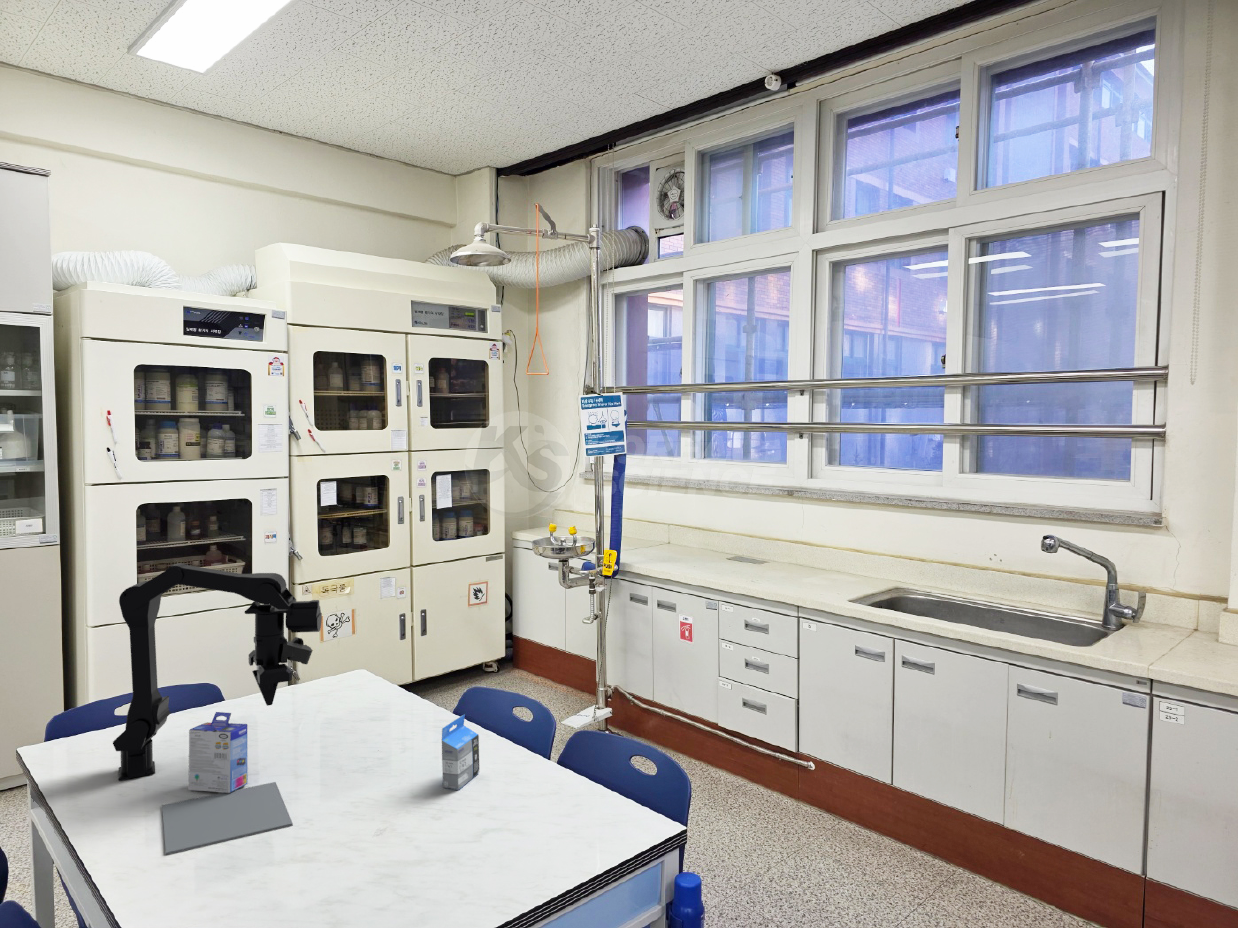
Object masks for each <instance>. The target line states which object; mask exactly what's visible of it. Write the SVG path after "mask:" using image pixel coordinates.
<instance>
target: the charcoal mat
mask: <svg viewBox="0 0 1238 928" xmlns="http://www.w3.org/2000/svg"><path fill="white" fill-rule="evenodd" d="M287 808H288V807H286V804H285V801H284V798H283V797H282V795H281V791H280V789H279V787H278V785H277V782H276V781H273V782H267V783H263V784H258V785H254V786H250V787H249V786H248V787H244V788H238V789H236V790H234V791H233V792H231V793H223V792H218V793H214V794H210V795H205V796H204V795H203V796H201V797H200V796H199V797H195V798H191V799H184V800H180V801H176V802H171V803H166V804H162V805H161V811H162V821H163V822H162V823H163V825H162V826H163V834H164V835H163V836H164V848H165V855H166V856H167V855H172V854H177V853H181V852H185V851H188V850H193V849H197V848H202V847H206V846H211V845H214V844H219V843H223V842H227V841H231V840H236V839H240V838H245V837H248V836H253V835H257V834H261V833H265V832H270V831H274V830H275V831H276V830H278V829H283V828H287V827H292V826H293V821H292V819H291V817H290V814H289V811H288V809H287Z"/></svg>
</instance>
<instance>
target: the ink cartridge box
mask: <svg viewBox="0 0 1238 928" xmlns="http://www.w3.org/2000/svg"><path fill="white" fill-rule="evenodd" d="M231 715H232V712H223V711H221V712H220V711H215V713H214V716H213V718H212V721H211V722H204V723H201V724H199V725H197V726H194V727H192V728H190V729H189V730H188V734H189V735H188V736H189V737H188V791H198V792H199V791H200V792H211V793H212V792H213V793H231V792H233V791H234V790H238V789H241V788H242V787H245V786H247V785H248V783H249V782H248V776H249V775H248V773H249V772H248V769H249V768H248V724H247V723H235V722H234V723H229V722H230V720H231V719H230V718H231ZM219 717H225V718H226V719H225V720H223V719H218V718H219Z"/></svg>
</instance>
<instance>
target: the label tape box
mask: <svg viewBox="0 0 1238 928" xmlns="http://www.w3.org/2000/svg"><path fill="white" fill-rule="evenodd" d="M465 716H466V713H465V714H463V715H461V716H459V717H457V718H456V719H454V720H453V721H451V722H449V723H448V724H447V725H445V726H443V727H442V729H441V763H442V765H441V767H442V788H445V789H448V788H451V789H450V790H455V791H456V790H457V791H459V790H461V789H462V787H464V786H465V785H466V784H467V783H469V782H470V781H471V780H472V779H474V778H475V777H476V776H477V775H478V774H479V773H480V744H479V743H480V736H479V734H478V733H477V732H475V731H473V730H472V729H470V728H469V727H467V726H465ZM453 726H454V728H453ZM455 726H456V727H455ZM451 728H453V729H451Z"/></svg>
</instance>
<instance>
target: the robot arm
mask: <svg viewBox="0 0 1238 928" xmlns="http://www.w3.org/2000/svg"><path fill="white" fill-rule="evenodd" d="M178 585H180V586H185V587H193V588H200V589H207V590H212V591H220V592H225V593H230V594H231V593H232V594H236V595H237V596H238V595H239V596H241V597H243V598H245V599H247V600H249V601H252V603H251V604H250V606H249V607H248V608H247V609H246V610H244V614H246V615H254V636H253V643H254V649H253V650H251V651H250V653H249V654H248V665H249V666H250V667H251V666H252V667H253V666H254V664H255V666H256V669H255V670H252V674H253V677H254V679H255V682H256V684H257V686H258V688H259V690H260V693H261V695H262V698H263V700H264V702H265V705H266V706H268V707H269V706H273V704H274V699H275V696H276V693H277V689H278V684H279V683H286V682H291V681H292V680H293V675H292V674H293V671H292V670H291V668H290V666H288V665H287V663H288V660H289V661H293V662H296V663H301V664H302V665H308V663H309V661H310V659H311V656H312V653H313V651H314V650H313V649H312V647H311V646H310V645H307V644H305V643H304V639H303V638H301V637H297V636H296V637H294V638H293V639H292V640H289V641H288V640H287V638H286V637H285V628H287V630H288V631H290V632H291V633H293V634H294V633H318V632H320V631H321V627H322V618H323V616H322V615H323V614H322V612H321V606H320V600H319V599H312V600H300V601H299V600H298V601H297V599H296V597H295V596H294V595H293V594H292V593H291V590H289V589H288V588H287V582H286V580H285V578H284V577H283V575H281V574H280V573H278V572H277V573H276V572H275V573H274V572H256V573H238V572H232V571H231V572H230V571H225V570H220V569H213V568H209V567H207V568H206V567H203V566H202V567H201V566H194V565H190V564H189V565H188V564H186V563H182V562H179V563H175V564H173V565H171V566H169V567H167V568H166V570H164V571H163V572H161V573H159V574H157V576H155V577H153V578H151V579H150V580H144V581H140V582H137V583H136V584H133V585H131V586H129V587H127V588H125V590H123V591H122V592H121V593H120V596H119V599H118V602H119V603H118V604H119V606H120V607H119V608H120V612H121V614H122V618H123V620H124V622H125V623H126V626H127V627H128V629H129V643H130V662H131V664H130V666H131V667H130V668H131V684H132V686H131V687H132V698H131V700H130V701H131V702H130V704H129V708H128V710H127V713H126V722H125V730H124V731H123V732H122V733H120V735H118V736H117V737H116V738H115V739H114V740H113V741H112V745H113V747H114V749H115V751H116V752H120V767H118V775H117V776H118V777H117V778H118V779H117V780H118V781H122V780H128V779H129V780H130V779H133V778H139V777H144V776H150V775H154V774H156V765H155V760H153V757H154V756H153V739H152V738H154V737H155V736H156V735H157V733H158V731H159V730H160V729H161V728H162V727H163V726H164V725H165V724H166V723H167V719H168V716H170V715H171V711H170V708H169V702H170V696H169V695H166V696H162V695H161V693H160V692H159V688H158V686H159V685H158V671H157V670H158V669H157V665H158V664H157V650H156V649H157V647H156V631H155V630H156V627H155V625H156V621H157V618H158V614H159V611H160V606H161V600H162V595H163V594H165V593H167V592H168V591H170V590H172V589H173V588H174V587H176V586H178Z"/></svg>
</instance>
